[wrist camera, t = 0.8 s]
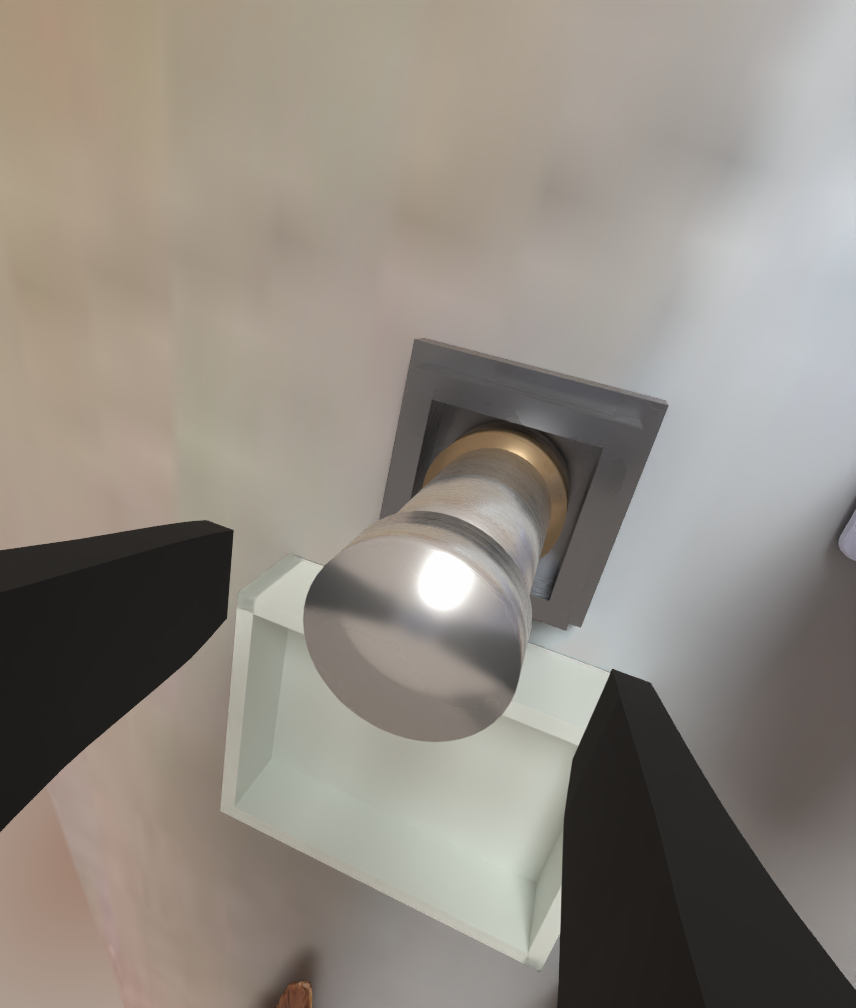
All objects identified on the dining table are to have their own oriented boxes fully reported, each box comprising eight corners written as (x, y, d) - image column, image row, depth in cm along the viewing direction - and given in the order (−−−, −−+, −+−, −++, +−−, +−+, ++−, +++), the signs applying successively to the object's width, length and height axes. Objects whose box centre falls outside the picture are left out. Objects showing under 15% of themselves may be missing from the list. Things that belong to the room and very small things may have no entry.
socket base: (665, 400, 16) (673, 413, 14) (582, 612, 19) (578, 651, 17) (424, 338, 18) (397, 341, 16) (382, 543, 21) (355, 570, 19)
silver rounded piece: (590, 444, 16) (570, 587, 8) (546, 564, 18) (491, 787, 10) (456, 404, 17) (309, 494, 9) (427, 522, 19) (281, 692, 11)
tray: (645, 685, 20) (652, 756, 16) (548, 886, 24) (539, 972, 21) (289, 553, 23) (238, 591, 20) (265, 754, 27) (220, 811, 24)
